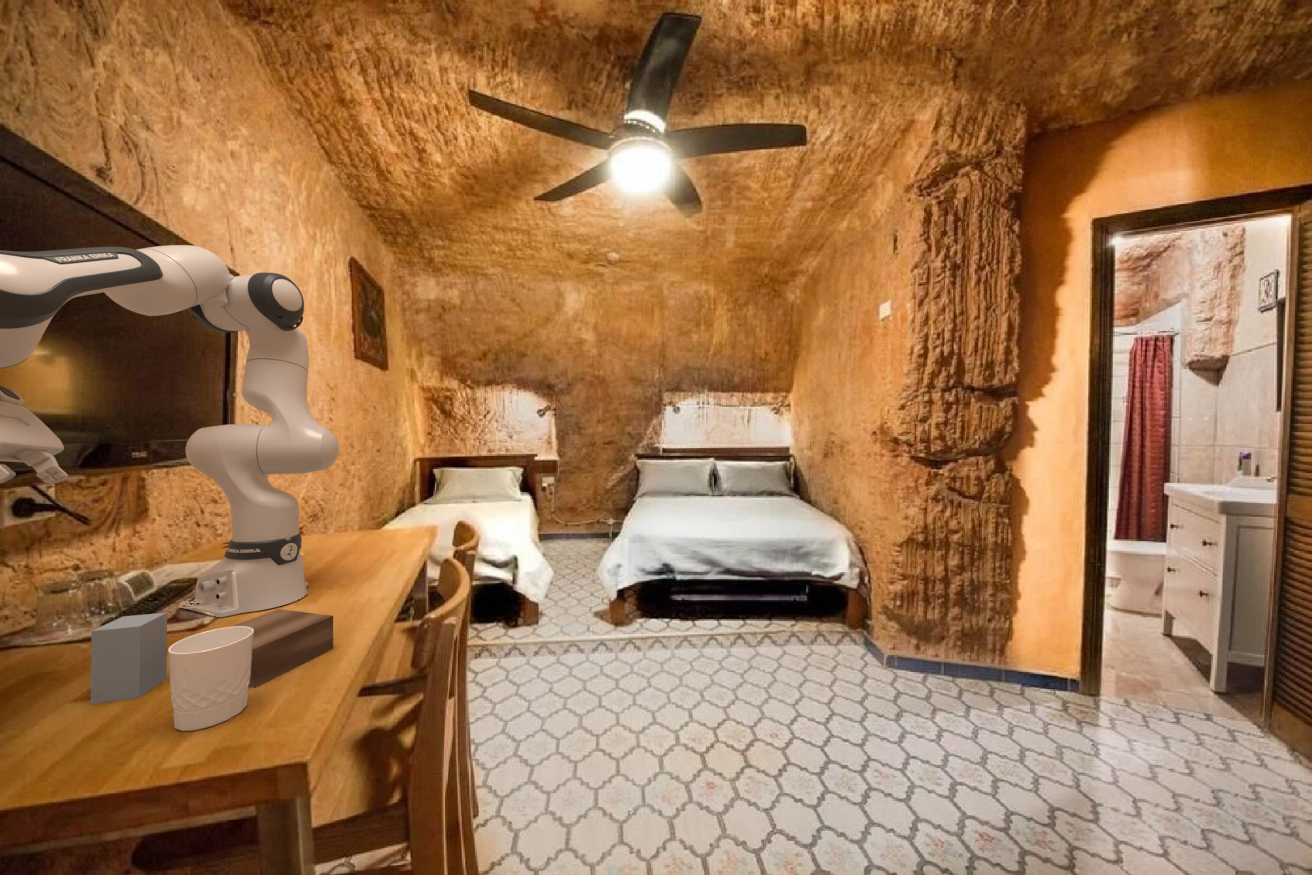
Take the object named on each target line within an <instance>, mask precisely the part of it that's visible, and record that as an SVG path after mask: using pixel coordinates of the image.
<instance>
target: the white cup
mask: <svg viewBox="0 0 1312 875" xmlns="http://www.w3.org/2000/svg"><path fill="white" fill-rule="evenodd" d="M232 626H233V627H231V626H227V627H220V628H214V629H210V630H207V631H202V632H199V633H195V634H193V635H189V636H186V637H184V638H182V639H179V640H178V641H176V642H174V643H173V644H171V645H170V646H169V647H168V648H167V657H168V658H167V659H168V672H169V675H168V676H169V688H170V699H171V706H172V708H173V710H172V711H173V721H174V722H173V726H174V729H175V730H178V731H180V732H189V731H199V730H201V729H206V728H210V727H214V726H215V725H218V724H221V723H224V722H226V721H228V720H230V719H233V717H235V716H237V715H238V714H240V713H241V712H242V711H243V710H244V709H245V708H246V707H247V706H248V696H249V687H248V686H249V683H250V675H251V665H252V650H253V635H254V629H253V628H251V627H247V626H234V625H232Z"/></svg>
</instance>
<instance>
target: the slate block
mask: <svg viewBox="0 0 1312 875" xmlns="http://www.w3.org/2000/svg"><path fill="white" fill-rule="evenodd" d="M90 633H91V634H90V635H91V636H90V637H91V638H90V639H91V640H90V642H91V644H90V646H91V647H90V648H91V649H90V651H91V653H90V654H91V655H90V656H91V657H90V705H97V704H103V703H112V702H119V701H127V700H133V699H139V698H142V697H143V696H144V695H145V694H147V693H149V692H150V691H151V690H152V689H155V688H156V687H157V686H159V685H160V684H161V683H163V682H164V681H165V680H167V659H168V658H167V657H168V646H167V641H168V612H160V613H157V612H156V613H149V614H147V613H145V614H136V615H126V616H125V615H124V616H121V617H118V618H117V619H115V620H112V621H110V622H108V623H106V624H103V625H102V626H100V627H97V628H96V629H93V630H91V632H90Z"/></svg>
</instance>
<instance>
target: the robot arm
mask: <svg viewBox="0 0 1312 875" xmlns="http://www.w3.org/2000/svg"><path fill="white" fill-rule="evenodd" d="M101 293H104V294H105V295H106V296H108V298H110V299H111V301H113V302H114V303H116V304H118V305H119V306H121V307H123V308H124V309H126V310H129V311H132V312H133V313H136V314H140V315H144V316H149V317H153V316H166V315H170V314H175V313H178V312H181V311H184V310H187V311H188V313H189V314H190V315H191V317H192V318H193V319H194V320H195V321H196V322H198V324H200V325H201V326H203V327H204V328H205V329H207V330H210V331H212V332H217V333H224V334H225V333H227V334H228V333H231V334H232V333H233V334H234V333H238V332H243V331H244V332H245V334H246V335H247V338H248V342H249V348H248V349H247V354H246V360H245V366H244V372H243V373H244V374H243V379H242V385H241V394H242V398H243V399H244V401H245V402H246V403H247V404H249V405H250V406H251V407H253V408H255V409H256V410H259V411H261V412H264V413H266V414H268V415H271V420H270V421H271V423H269V424H232V423H231V424H230V423H229V424H222V425H213V426H206V427H202V428H198V429H197V430H196V431H194V432H193V433H192V434H191V435H190V437H189V438H188V440H187V441H186V444H185V445H186V446H185V456H186V458H187V461H188V462H189V464H190V466H192V467H193V468H194V469H195V470H197V471H198V472H200V473H201V474H203V475H205V476H207V477H209V478H210V479H211V480H213V481H214V482H215V483H216V484H217V485H218V486H219V487H220V489H221V490H222V492H223V493H224V494H225V496H226V498H227V501H228V503H229V507H230V515H231V540H230V541H227V542H222V543H221V545H223V546H222V547H221V549H226V550H225V553H224V555H223V559H221V560H220V561H218V562H217V563H215V565H213V566H212V567H210V568H209V569H208V570H206V571H205V572H203V573H202V574H201V575H200V576H199V577H198V578H197V581H196V584H195V585H196V586H195V592H194V593H195V595H194V596H195V599H194V601H195V602H194V601H191V602H189V601H184V600H182V601H181V602H179V604H181V605H185V606H191V607H202V608H200V609H202V610H204V611H205V612H209V613H211V614H213V615H214V616H216V617H215V618H223V617H229V616H234V615H237V614H242V613H243V614H245V613H250V612H258V611H264V610H269V609H273V608H277V607H280V606H284V605H288V604H292V603H293V602H297V601H298V599H299V600H301V599H303V598H304V597H305V596H304V595H306V594H307V595H308V593H307V592H308V588H307V589H306V587H307V586H308V587H309V582H308V581H306V578H305V577H306V576H305V569H304V561H303V554H301V553H300V550H301V549H302V542H303V538H302V533H301V532H300V502H299V500H298V499H297V498H296V497H295V496H294V495H293V494H291V493H289V492H287V491H285V490H282V489H279V488H277V487H275V486H273V485H272V484H271V482H270V481H269V478H268V475H287V474H289V475H290V474H291V475H293V474H294V475H295V474H298V475H299V474H309V473H313V472H320V471H325V470H328V469H329V468H331V467H332V466H333V464H334V463H335V462H336V460H337V458H338V456H339V453H340V445H339V441H338V440H337V437H336V436H335V435H334V433H333V432H332V431H331V430H329V429H328V428H326V427H324V426H323V425H322V424H321V423H319V422H318V421H317V419H315V417H314V415H313V414H312V412H311V411H310V408H309V405H308V394H307V393H308V391H307V390H308V379H309V378H308V377H309V368H310V366H309V364H310V363H309V362H310V360H309V358H310V357H309V356H310V355H309V346H308V341H307V337H306V335H305V333H304V332H302V331H301V330H300V329H298V328H299V327H301V325H302V323H303V320H304V316H303V315H304V312H305V300H304V296H303V293H302V292H301V289H300V288H299V287H298V285H296V283H295V282H294V281H293V280H292V279H291V278H289V277H287V276H286V275H283V274H280V273H277V272H267V271H266V272H261V271H260V272H257V273H254V274H244V275H243V274H242V275H238V276H234V275H233V274H231V273H230V270H229V268H228V267H227V265H226V263H225V262H224V261H223V260H222V259H221V257H220V256H218V255H217V254H215V253H214V252H213V251H211V250H209V249H206V248H204V247H201V246H197V245H190V244H189V245H187V244H182V245H181V244H175V245H174V244H171V245H170V244H169V245H158V246H151V247H144V248H138V249H134V248H131V247H123V246H94V247H81V248H78V247H77V248H67V249H55V250H54V249H53V250H40V251H37V250H36V251H17V250H16V251H11V250H1V249H0V369H5V368H10V367H14V366H17V365H20V364H22V363H23V362H25V361H27V359H29V357H31V356H32V354H33V353H34V351H35V350H36V348H37V347H38V345H39V343H40V341H41V339H42V338H43V335H44V333H45V332H46V329H47V328H48V326H49V325H50V323H51V321H52V319H53V318H54V316H55V315H56V314H57V313H58V311H60V309H61V308H62V307H63V306H64V305H65V304H66V303H67V302H68V301H70V300H72V299H74V298H77V297H83V296H89V295H96V294H101ZM25 403H26V401H25V400H24V398H23V397H22V396H20V395H19V394H18V393H17V392H15V391H13V390H10V389H9V388H7V387H5V386H2V385H0V462H8V463H9V462H10V463H11V462H12V463H13V462H14V463H24V464H25V465H26V466H28V467H32V468H33V470H34V471H35V472H36V474H35V476H36V477H37V478H38V479H40V480H41V481H42V482H44V484H58V483H60V482H62V481H63V480H66V479H67V478H68V477H69V475H68V473H67V472H65V471H64V470H63V469H62V468H61V467H60V465H59V463H58V461H57V459H56V457H55V456H56V455H57V454H60V453H61V452H63V451H64V450H65V446H64V443H63V442H62V440H61V439H60V438H59V437H58V436H57V435H56V434H55V433H54V432H53V431H52V430H51V429H50V428H49V427H48V426H47V425H46V424H45V423H44V422H43V421H42V420H41V419H40V418H38V416H36V415H35V414H34V413H33V412H32V411H30V410H29V409H27V408H26V407H24V406H22V405H23V404H25ZM16 475H17V474H16V472H15V471H14V470H11V468H10V467H9V466H8V465H6V464H5V463H4V464H3V463H1V464H0V484H3V483H6V482H7V481H9V480H11V479H14V478H15V477H16ZM307 595H306V596H307ZM302 597H303V598H302ZM186 603H187V604H186ZM189 603H200V604H199V605H198V606H197V605H195V606H194V605H193V604H192V605H191V604H189ZM179 604H178V605H179ZM214 616H213V617H214Z"/></svg>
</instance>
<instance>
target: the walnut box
mask: <svg viewBox="0 0 1312 875" xmlns="http://www.w3.org/2000/svg"><path fill="white" fill-rule="evenodd" d="M233 626H247V627H251V628H253V629H254V635H253V650H252V665H251V675H250V683H249V686H248V688H252V689H256V688H258V687H260V686H262V685H263V684H266V683H268V682H270V681H272V680H274V679H276V678H278V677H279V676H282V675H284V674H286V673H288V672H290V671H292V670H294V669H296V668H298V667H300V666H302V665H304V664H307V663H308V662H310V661H312V660H314V659H317V658H318V657H321V656H322V655H324V654H326V653H328V652H329V651H332V650H334V615H330V614H321V613H315V612H304V611H298V610H289V609H279V608H278V609H275V610H273V611H270V612H267V613H265V614H262V615H259V616H256V617H253V618H251V619H248V620H246V621H242V622H239V623H237V624H234V625H231V626H230V627H233Z"/></svg>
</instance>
